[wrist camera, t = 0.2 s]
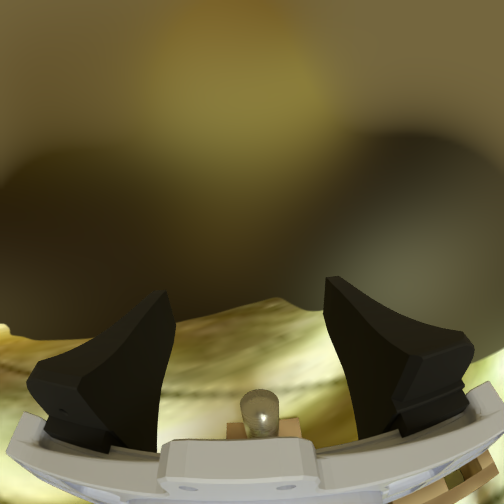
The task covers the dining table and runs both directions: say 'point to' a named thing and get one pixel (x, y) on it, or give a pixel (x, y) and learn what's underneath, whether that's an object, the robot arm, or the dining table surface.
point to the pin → (260, 414)
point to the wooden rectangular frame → (442, 500)
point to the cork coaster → (285, 429)
